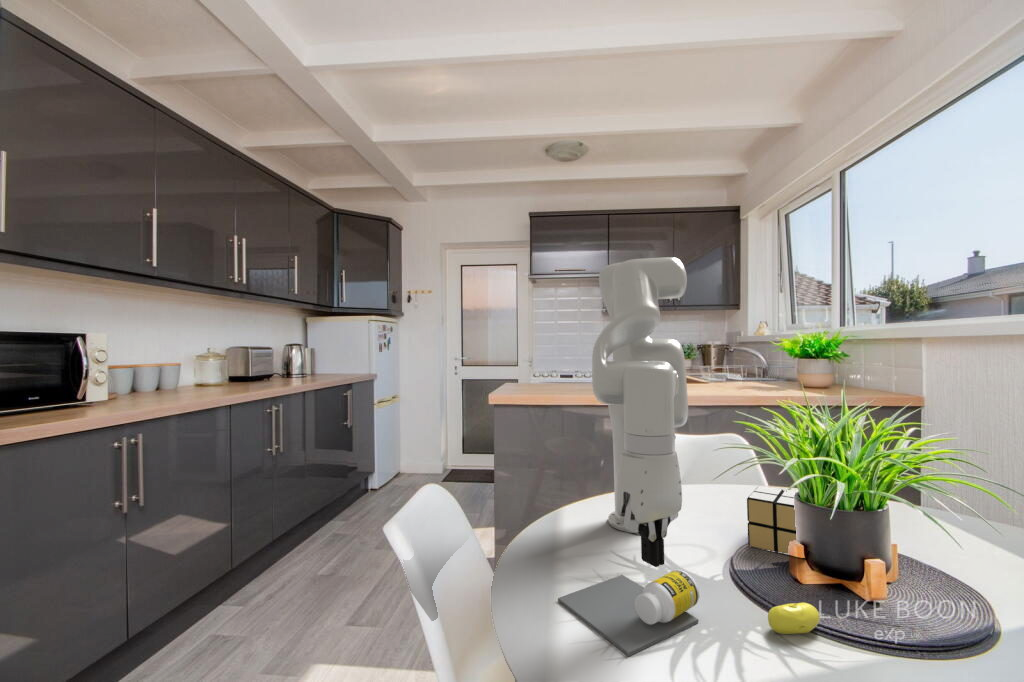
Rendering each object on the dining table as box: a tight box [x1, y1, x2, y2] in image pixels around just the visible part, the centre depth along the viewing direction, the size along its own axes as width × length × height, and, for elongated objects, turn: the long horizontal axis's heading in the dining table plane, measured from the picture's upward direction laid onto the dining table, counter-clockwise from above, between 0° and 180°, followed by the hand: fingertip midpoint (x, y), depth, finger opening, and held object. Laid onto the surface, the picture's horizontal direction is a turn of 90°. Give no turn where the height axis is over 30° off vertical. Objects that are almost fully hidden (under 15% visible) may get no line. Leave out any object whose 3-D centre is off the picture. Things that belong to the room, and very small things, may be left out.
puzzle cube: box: [746, 485, 797, 553], centre depth 95 cm, size 10×10×10 cm
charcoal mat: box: [557, 574, 699, 657], centre depth 73 cm, size 14×16×1 cm
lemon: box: [767, 602, 821, 635], centre depth 67 cm, size 4×8×4 cm, turn 98°
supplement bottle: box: [635, 569, 700, 624], centre depth 70 cm, size 5×5×10 cm
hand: (652, 562), depth 72 cm, fingers closed
